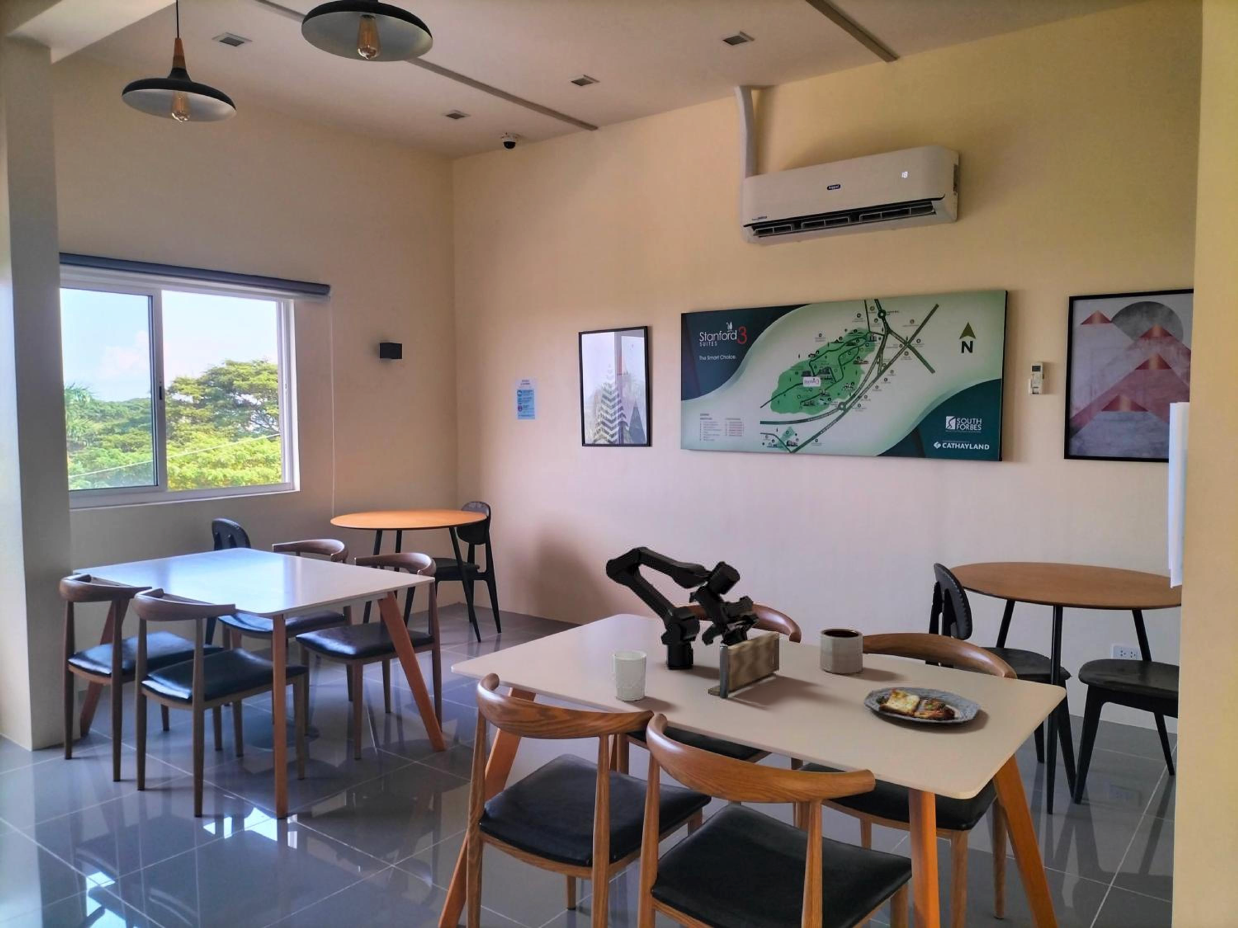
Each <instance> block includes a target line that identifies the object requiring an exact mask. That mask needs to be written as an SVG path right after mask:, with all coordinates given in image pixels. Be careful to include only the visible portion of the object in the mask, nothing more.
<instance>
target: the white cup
mask: <svg viewBox="0 0 1238 928" xmlns="http://www.w3.org/2000/svg"><path fill="white" fill-rule="evenodd" d="M612 661H613V679H614V690H615V691H614V693H615V694H614V695H615V698H616V699H617V700H619V701H625V702H636V701H635V700H637V701H639V700H642V698H643V699H644V697H645V687H646V677H647V676H646V674H647V672H646V671H647V654H646V653H645V652H643V651H637V650H621V651H617V652H615V653H613V654H612Z"/></svg>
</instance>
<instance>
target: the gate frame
mask: <svg viewBox="0 0 1238 928" xmlns="http://www.w3.org/2000/svg"><path fill="white" fill-rule="evenodd" d="M728 647H729V646H727V645H720V646H719V684H718V685H715V686H713V687H710V688H708V689H707V694H708V695H713V696H716V697H719V698H720V699H728V698H729V692H731V691H734V690H737V689H739V688H741V687H743V686H746V685H748V684H751V683H753V682H756V681H758V680H760V679H762V678H763V679H764V678H765V677H768V676H770V675H773V674H775V672H772V673H770V674H767V675H765V676H762V677H760V678H757V679H755V680H753V681H750V682H748V683H745V684H743V685H740V686H738V687H736V688H733V689H731V690H729V689H728ZM719 695H720V696H719Z"/></svg>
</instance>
